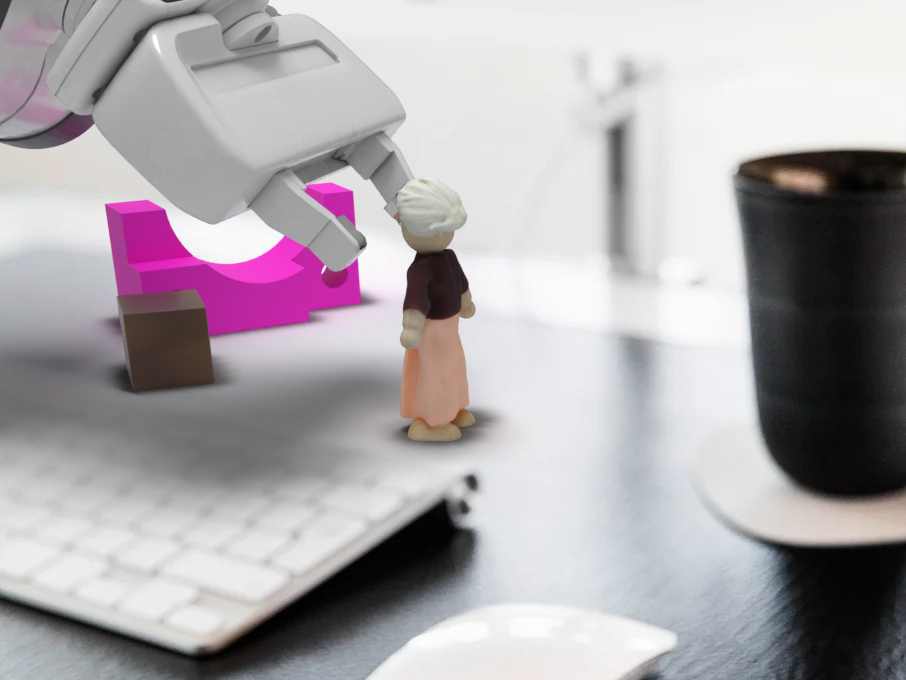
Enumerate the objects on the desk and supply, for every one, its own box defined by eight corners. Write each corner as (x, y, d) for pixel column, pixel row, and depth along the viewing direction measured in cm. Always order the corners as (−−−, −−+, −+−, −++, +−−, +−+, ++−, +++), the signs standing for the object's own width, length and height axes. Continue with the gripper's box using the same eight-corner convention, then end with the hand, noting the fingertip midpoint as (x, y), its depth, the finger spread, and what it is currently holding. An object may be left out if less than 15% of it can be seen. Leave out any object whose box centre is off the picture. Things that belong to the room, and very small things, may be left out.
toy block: (149, 345, 86) (132, 220, 83) (122, 322, 91) (104, 203, 88) (376, 312, 94) (368, 197, 90) (339, 293, 98) (330, 182, 95)
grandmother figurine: (417, 406, 76) (404, 163, 71) (487, 409, 76) (480, 165, 70) (383, 456, 69) (366, 191, 64) (460, 459, 69) (450, 194, 63)
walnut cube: (134, 392, 78) (122, 314, 76) (127, 370, 82) (116, 295, 80) (215, 384, 80) (206, 307, 78) (204, 363, 83) (196, 288, 81)
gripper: (241, 49, 77) (422, 238, 79) (21, 92, 59) (263, 335, 61) (310, -41, 74) (495, 158, 76) (101, -23, 56) (350, 236, 59)
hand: (390, 238), depth 69 cm, fingers open, 8 cm apart
